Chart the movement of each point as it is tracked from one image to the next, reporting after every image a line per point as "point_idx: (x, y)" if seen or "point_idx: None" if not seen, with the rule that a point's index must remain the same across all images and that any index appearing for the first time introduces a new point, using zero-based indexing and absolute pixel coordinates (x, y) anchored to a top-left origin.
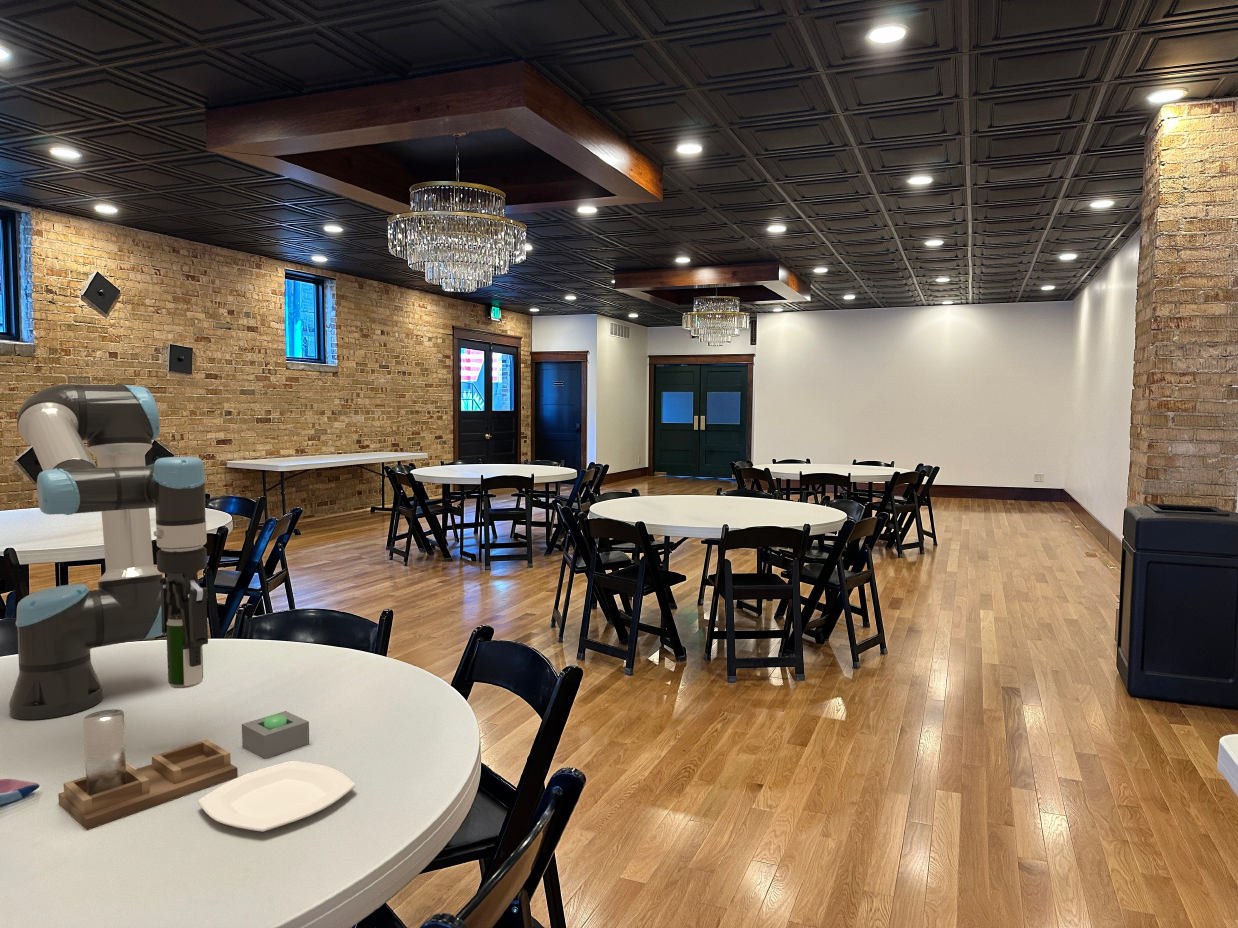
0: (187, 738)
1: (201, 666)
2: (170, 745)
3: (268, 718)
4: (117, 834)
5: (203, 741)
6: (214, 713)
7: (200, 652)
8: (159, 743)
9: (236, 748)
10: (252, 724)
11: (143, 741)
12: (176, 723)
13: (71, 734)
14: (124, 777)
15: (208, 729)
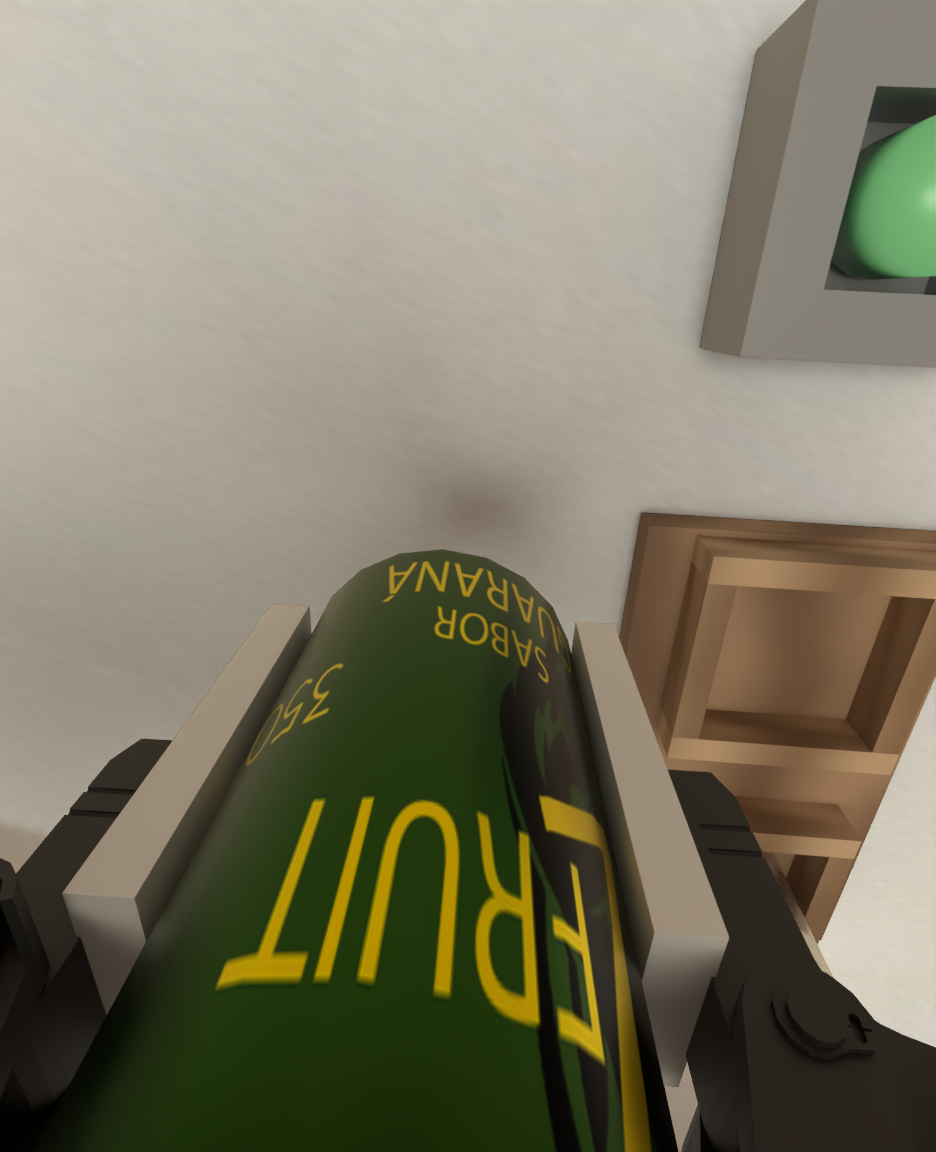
0: (378, 458)
1: (646, 714)
2: (400, 538)
3: (911, 228)
4: (914, 889)
5: (721, 575)
6: (118, 187)
7: (789, 909)
8: (342, 554)
9: (692, 378)
10: (809, 317)
11: (269, 581)
12: (142, 399)
13: (2, 695)
14: (785, 885)
15: (340, 338)
